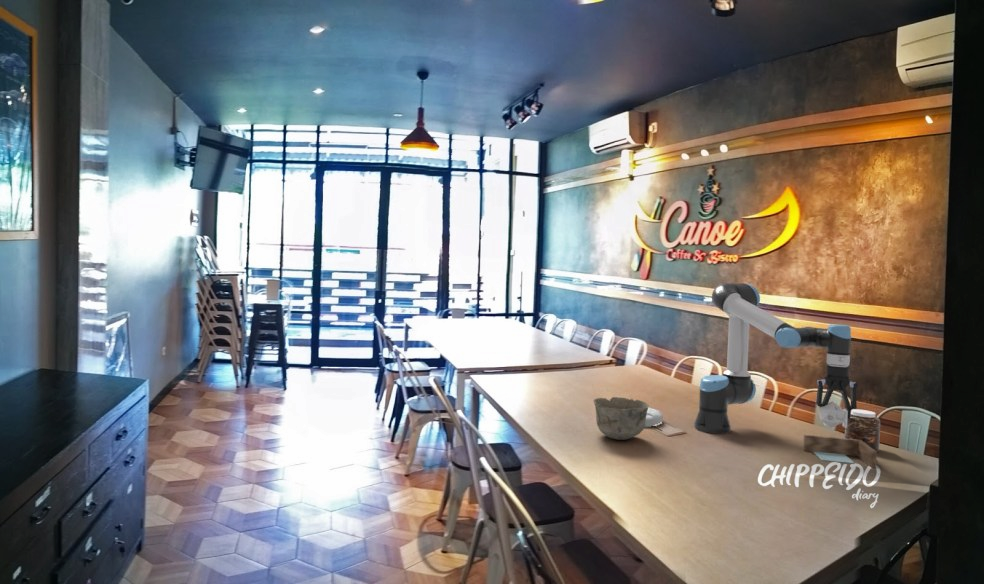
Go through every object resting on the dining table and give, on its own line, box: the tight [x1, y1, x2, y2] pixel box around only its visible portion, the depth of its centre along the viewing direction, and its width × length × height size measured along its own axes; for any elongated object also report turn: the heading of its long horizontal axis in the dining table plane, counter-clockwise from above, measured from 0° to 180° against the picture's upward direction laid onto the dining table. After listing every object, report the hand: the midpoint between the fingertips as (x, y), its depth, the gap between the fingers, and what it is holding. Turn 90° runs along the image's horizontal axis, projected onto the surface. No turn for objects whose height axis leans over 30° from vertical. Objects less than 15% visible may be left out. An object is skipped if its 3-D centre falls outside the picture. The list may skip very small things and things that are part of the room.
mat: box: [813, 451, 855, 465], centre depth 223 cm, size 11×11×1 cm
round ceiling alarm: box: [644, 407, 664, 428], centre depth 268 cm, size 25×25×6 cm
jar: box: [844, 408, 881, 453], centre depth 237 cm, size 12×12×15 cm
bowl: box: [593, 396, 650, 441], centre depth 240 cm, size 22×22×15 cm
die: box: [818, 401, 845, 428], centre depth 222 cm, size 8×9×10 cm
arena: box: [803, 434, 878, 469], centre depth 222 cm, size 20×16×6 cm
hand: (835, 426), depth 223 cm, fingers closed on die, 6 cm apart
